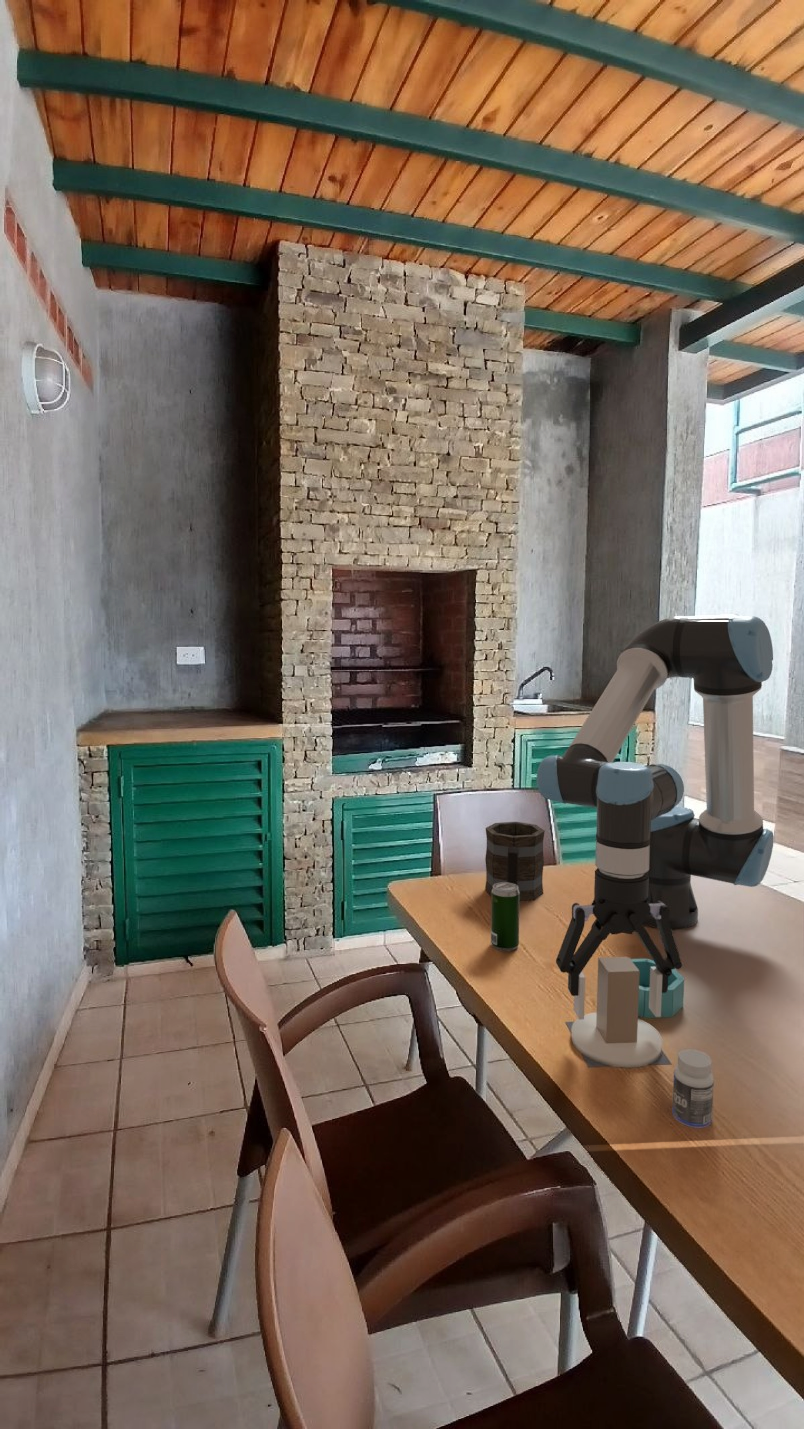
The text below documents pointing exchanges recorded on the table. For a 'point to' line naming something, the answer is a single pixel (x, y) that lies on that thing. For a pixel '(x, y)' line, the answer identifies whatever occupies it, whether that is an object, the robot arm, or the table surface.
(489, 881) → the mug
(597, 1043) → the lid
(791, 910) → the table surface
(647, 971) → the bowl
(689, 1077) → the pill bottle
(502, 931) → the beer can
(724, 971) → the table surface
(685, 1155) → the table surface
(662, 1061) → the mat
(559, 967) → the robot arm
